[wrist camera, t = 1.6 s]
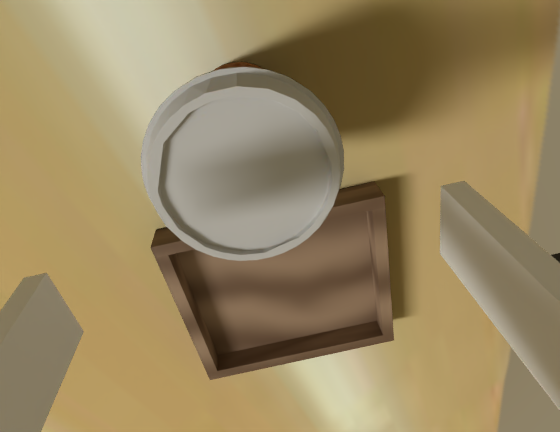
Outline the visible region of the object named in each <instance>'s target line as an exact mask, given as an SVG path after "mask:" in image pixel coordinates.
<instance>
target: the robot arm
mask: <svg viewBox="0 0 560 432" xmlns="http://www.w3.org/2000/svg"><path fill="white" fill-rule="evenodd" d="M440 254H441V256H442V257H443V258H444V259H445V261H446V262H447V263H448V265H449V266H450V267H451V269H452V270H453V271H454V273H455V274H456V275H457V277H458V278H459V279H460V280H461V282H462V283H463V284H464V286H465V287H466V288H467V290H468V291H469V292H470V294H471V295H472V296H473V298H474V299H475V300H476V301H477V303H478V304H479V305H480V307H481V308H482V309H483V311H484V312H485V313H486V315H487V316H488V317H489V319H490V320H491V321H492V322H493V324H494V325H495V326H496V328H497V329H498V330H499V332H500V333H501V334H502V336H503V337H504V338H505V339H506V341H507V342H508V343H509V345H510V346H511V347H512V349H513V350H514V351H515V352H516V354H517V355H518V357H519V358H520V359H521V360H522V362H523V363H524V364H525V366H526V367H527V368H528V370H529V371H530V372H531V374H532V375H533V376H534V378H535V379H536V380H537V381H538V383H539V384H540V385H541V386H542V388H543V389H544V391H545V392H546V393H547V394H548V396H549V397H550V399H551V400H552V401H553V402H554V404H555V405H556V406H557V408H558V409H559V410H560V253H558V254H554V255H550V254H549V253H548V252H546V251H545V250H544V249H543V248H542V247H541V246H539V245H538V244H537V243H536V242H535V241H534V240H532V239H531V238H530V237H529V236H528V235H527V234H526V233H524V232H523V231H522V230H521V229H520V228H519V227H517V226H516V225H515V224H514V223H513V222H512V221H510V220H509V219H508V218H507V217H506V216H505V215H503V214H502V213H501V212H500V211H499V210H498V209H496V208H495V207H494V206H493V205H492V204H491V203H489V202H488V201H487V200H486V199H485V198H484V197H482V196H481V195H480V194H479V193H478V192H477V191H475V190H474V189H473V188H472V187H471V186H470V185H468V184H467V183H466V182H465V181H461V182H456V183H452V184H447V185H443V186H441V215H440ZM83 332H84V331H83V330H82V328H81V326H80V325H79V323H78V322H77V320H76V318H75V317H74V315H73V314H72V312H71V311H70V309H69V307H68V306H67V304H66V303H65V301H64V299H63V298H62V296H61V295H60V293H59V292H58V290H57V288H56V287H55V285H54V284H53V282H52V281H51V279H50V277H49V276H48V274H47V273H44V274H39V275H35V276H30V277H26V278H23V280H22V281H21V283H20V284H19V286H18V287H17V288H16V290H15V291H14V293H13V294H12V295H11V297H10V298H9V300H8V301H7V302H6V304H5V305H4V307H3V308H2V310H1V311H0V432H41V430H42V428H43V425H44V423H45V421H46V418H47V416H48V414H49V411H50V409H51V407H52V404H53V402H54V400H55V397H56V395H57V393H58V390H59V388H60V386H61V383H62V381H63V379H64V376H65V374H66V372H67V369H68V367H69V365H70V362H71V360H72V358H73V355H74V353H75V351H76V348H77V346H78V344H79V341H80V339H81V337H82V334H83Z"/></svg>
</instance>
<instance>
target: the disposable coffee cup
mask: <svg viewBox="0 0 560 432" xmlns="http://www.w3.org/2000/svg"><path fill="white" fill-rule="evenodd" d="M141 166H142V176H143V181H144V185H145V188H146V191H147V193H148V196H149V198H150V200H151V202H152V203H153V205H154V207H155V209H156V211H157V213H158V214H159V216H160V217H161V219H162V220H163V222H164V224H165V225H166V226H167V227H168V228H169V229H170V230H171V231H172V232H173V233H174V234H175V235H176V236H177V237H178V238H179V239H180V240H181V241H183V242H185V243H186V244H188V245H189V246H191V247H193V248H194V249H196V250H198V251H201V252H203V253H206V254H208V255H211V256H213V257H218V258H222V259H227V260H236V261H247V260H259V259H264V258H269V257H273V256H276V255H279V254H282V253H284V252H286V251H288V250H290V249H292V248H294V247H296V246H298V245H299V244H301V243H302V242H304V241H305V240H306V239H308V238H309V237H310V236H311V235H312V234H313V233H314V232H315V231H316V230H317V229H318V228H319V227H320V226H321V224H322V223H323V222H324V220H325V219H326V217H327V216H328V214H329V212H330V210H331V209H332V207H333V205H334V202H335V199H336V196H337V194H338V191H339V188H340V186H341V182H342V177H343V171H344V149H343V145H342V140H341V136H340V133H339V131H338V128H337V126H336V123H335V121H334V119H333V117H332V116H331V114H330V113H329V111H328V110H327V108H326V107H325V105H324V104H323V103H322V102H321V101H320V100H319V99H318V98H317V97H316V96H315V95H314V94H313V93H312V92H311V91H310V90H308V89H307V88H305V87H304V86H302V85H300V84H299V83H297V82H296V81H294V80H293V79H291V78H290V77H287V76H285V75H282V74H279V73H276V72H274V71H271V70H266V69H263V68H261V67H259V66H257V65H255V64H251V63H247V62H233V63H228V64H224V65H222V66H220V67H218V68H216V69H215V70H213V71H211V72H209V73H206V74H203V75H200V76H197V77H195V78H194V79H192V80H190V81H189V82H187V83H186V84H184V85H183V86H181V87H180V88H178V89H177V90H175V91H174V92H173V93H172V94H171V95H170V96H169V97H168V98H167V99H166V100H165V101H164V102H163V103H162V104H161V105H160V106H159V108H158V110H157V111H156V113H155V114H154V116H153V118H152V119H151V121H150V123H149V125H148V128H147V131H146V134H145V137H144V140H143V146H142V153H141Z"/></svg>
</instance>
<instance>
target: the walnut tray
mask: <svg viewBox="0 0 560 432" xmlns="http://www.w3.org/2000/svg"><path fill="white" fill-rule="evenodd" d="M151 249H152V252H153V254H154V256H155V258H156V261H157V263H158V265H159V267H160V270H161V272H162V274H163V276H164V278H165V281H166V283H167V285H168V287H169V290H170V292H171V294H172V296H173V299H174V301H175V303H176V305H177V307H178V310H179V312H180V314H181V316H182V319H183V321H184V323H185V325H186V327H187V330H188V332H189V334H190V336H191V339H192V341H193V343H194V345H195V348H196V350H197V352H198V354H199V356H200V359H201V361H202V363H203V365H204V368H205V370H206V372H207V374H208V377H209V379H210V380H212V379H217V378H222V377H226V376H231V375H235V374H240V373H245V372H249V371H254V370H259V369H263V368H268V367H272V366H277V365H282V364H286V363H291V362H296V361H300V360H305V359H310V358H314V357H319V356H323V355H328V354H333V353H337V352H342V351H347V350H351V349H356V348H360V347H365V346H370V345H374V344H379V343H384V342H388V341H393V340H394V334H393V319H392V303H391V288H390V273H389V257H388V242H387V226H386V211H385V196H384V195H383V193H382V192H381V190H380V189H379V187H378V186H377V185H376V183H375V182H370V183H366V184H361V185H357V186H352V187H348V188H343V189H339V191H338V194H337V196H336V199H335V202H334V205H333V207H332V209H331V210H330V212H329V214H328V216H327V217H326V219H325V220H324V222H323V223H322V224H321V226H320V227H319V228H318V229H317V230H316V231H315V232H314V233H313V234H312V235H311V236H310V237H309V238H308V239H306V240H305V241H304V242H302V243H301V244H299V245H298V246H296V247H294V248H292V249H290V250H288V251H286V252H284V253H282V254H279V255H276V256H273V257H269V258H264V259H259V260H247V261H236V260H227V259H222V258H218V257H213V256H211V255H208V254H206V253H203V252H201V251H198V250H196V249H194V248H193V247H191V246H189V245H188V244H186V243H185V242H183V241H181V240H180V239H179V238H178V237H177V236H176V235H175V234H174V233H173V232H172V231H171V230H170V229H169V228H168V227H166V228H162V229H157V230H156V231H155V235H154V238H153V241H152V245H151Z"/></svg>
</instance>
